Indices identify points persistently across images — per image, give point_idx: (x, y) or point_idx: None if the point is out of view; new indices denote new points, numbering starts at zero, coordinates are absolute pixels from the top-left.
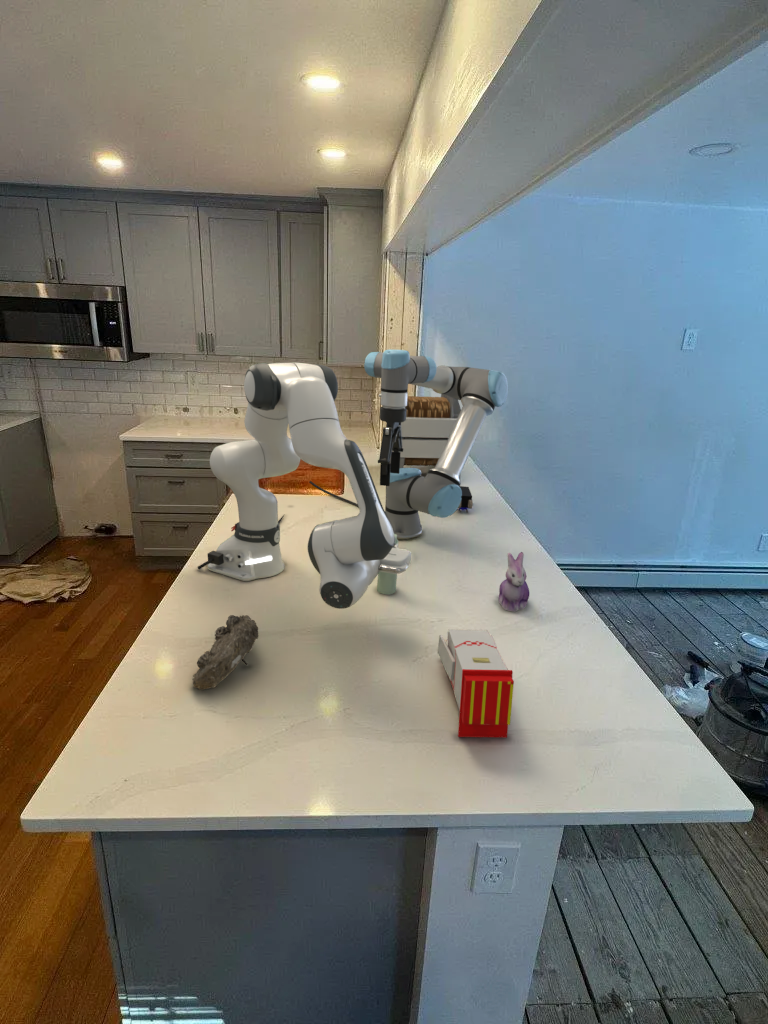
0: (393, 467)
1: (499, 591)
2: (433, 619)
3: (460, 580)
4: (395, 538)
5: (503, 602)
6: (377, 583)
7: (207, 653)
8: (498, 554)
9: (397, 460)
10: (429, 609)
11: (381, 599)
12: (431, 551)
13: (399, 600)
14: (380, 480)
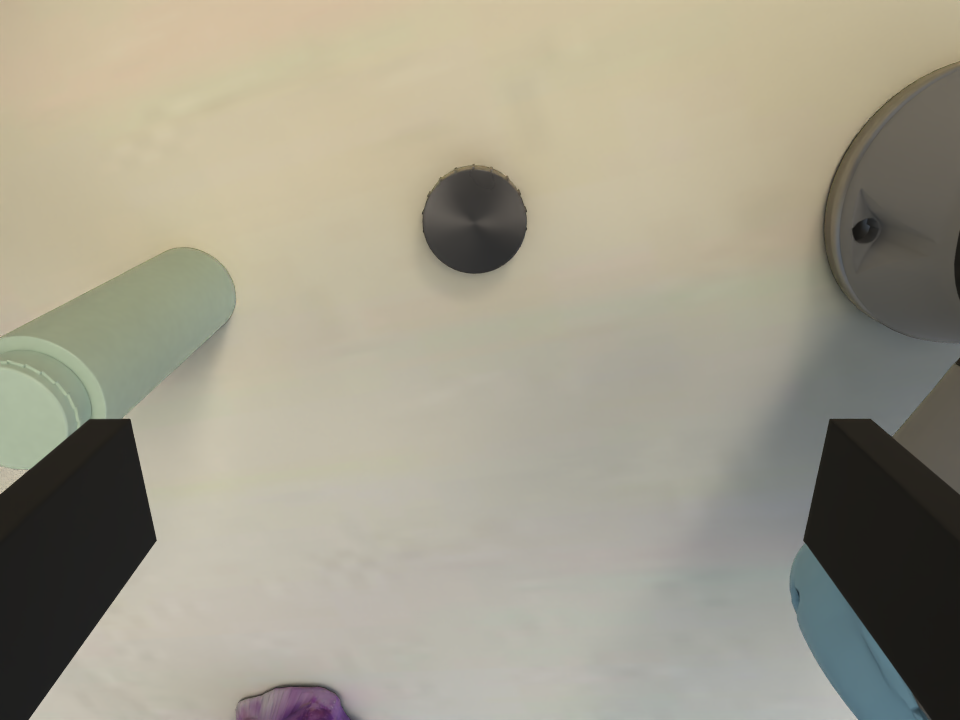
0: (870, 518)
1: (304, 710)
2: None
3: (418, 559)
4: (3, 462)
5: (249, 713)
6: (155, 257)
7: None
8: (728, 668)
9: (943, 685)
10: None
11: None
12: (699, 412)
13: None
14: (46, 466)
